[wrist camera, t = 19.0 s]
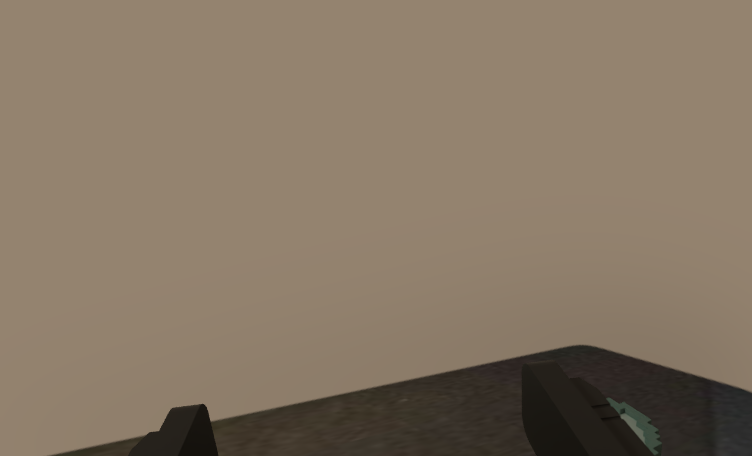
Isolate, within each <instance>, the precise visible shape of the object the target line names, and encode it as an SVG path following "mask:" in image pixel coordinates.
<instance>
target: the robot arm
mask: <svg viewBox="0 0 752 456" xmlns="http://www.w3.org/2000/svg"><path fill="white" fill-rule="evenodd" d="M522 418H523V424H524V429H525V432H526V435H527V438H528V440H529V442H530V444H531V446H532V448H533V450H534V452H535V454H536V455H537V456H655V455H654V454H653V453H652V452H651V451H650V449H649V448H648V447H647V446H646V445H645V444H644V442H643V441H642V440H641V439H640V438H639V437H638V435H637V434H636V433H635V432H634V431H633V430H632V428H631V427H630V426H629V425H628V424H627V423H626V421H625V420H624V419H621V415H620V414H619V413H618V412H617V411H616V410H615V408H614V407H613V406H612V407H611V405H610V403H609V401H608V400H607V399H606V398H605V397H604V396H603V394H602V393H601V392H600V391H599V390H598V389H597V388H596V387H594V386H592V385H591V384H589V383H587V382H586V381H584V380H582V379H581V378H579V377H578V378H570V379H569V378H568V376H567V375H566V374H565V373H564V371H563V370H562V369H561V368H560V366H559V365H558V364H557V363H556V361H554V360H548V361H540V362H532V363H525V364H523V366H522ZM128 456H218V452H217V447H216V443H215V439H214V435H213V430H212V426H211V422H210V418H209V413H208V410H207V407H206V406H205V405H204V404H199V405H191V406H183V407H176V408H172V409H171V410H170V411H169V413H168V415H167V417H166V419H165V421H164V423H163V425H162V426H161V428H160V431H157V432H149V433H148V434H147V435H146V436H145V437H144V438H143V439H142V440H141V441H140V442H139V443H138V444H137V445H136V446H135V447H134V448H133V449H132V450H131V451H130V453H129V455H128Z"/></svg>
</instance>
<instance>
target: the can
mask: <svg viewBox="0 0 752 456" xmlns="http://www.w3.org/2000/svg"><path fill="white" fill-rule="evenodd" d="M607 400H608V401H609V403H610V405H611V407H612V406H613V407H614V408H615V410H616V411H617V412H618V413H619V414H620V415H621V419H624V420H625V421H626V423H627V424H628V425H629V426H630V427H631V428H632V430H633V431H634V432H635V433H636V434H637V435H638V437H639V438H640V439H641V440H642V441H643V442H644V444H645V445H646V446H647V447H648V448H649V449H650V451H651V452H652V453H653V454H654V455H655V456H661V450H662V443H661V442H660V436H659V430H658V429H657V428H655V427H654V426H652V425H651V419H649V418H648V417H646V416H645V415H643V414H641V413H640V412H638V411H637V410H635V409H634V408H632V407H631V406H629V405H627V404H626V403H624V402H623V403H621V404H618V403H617V402H615V401H614V400H612V399H611V398H607Z"/></svg>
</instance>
